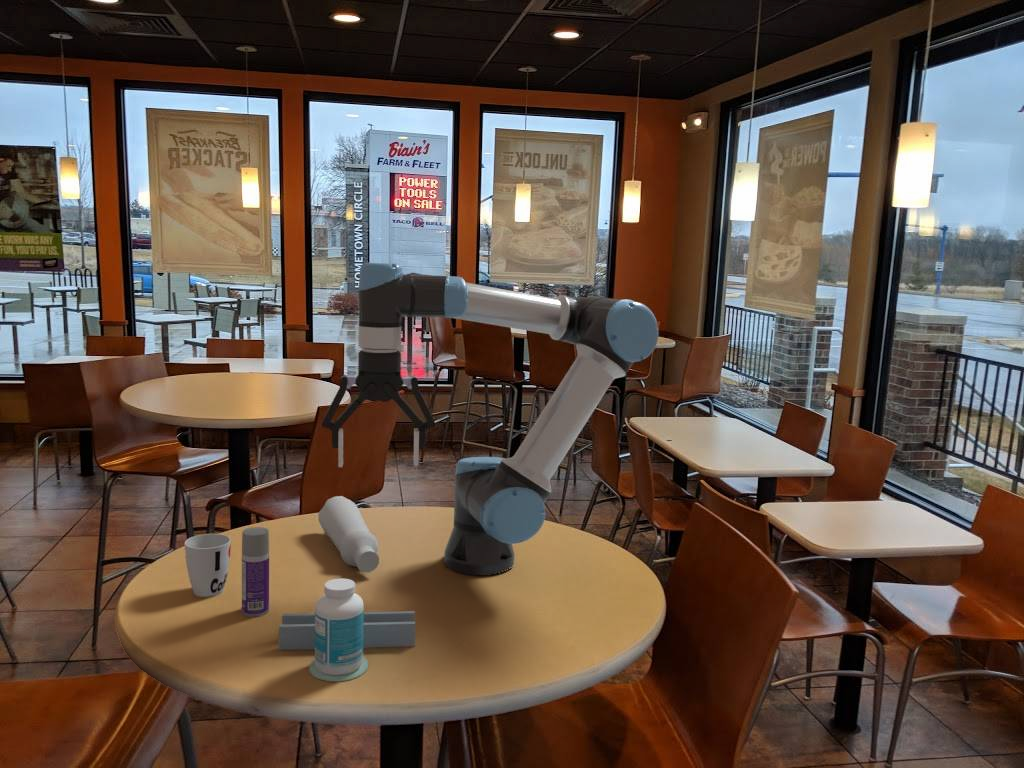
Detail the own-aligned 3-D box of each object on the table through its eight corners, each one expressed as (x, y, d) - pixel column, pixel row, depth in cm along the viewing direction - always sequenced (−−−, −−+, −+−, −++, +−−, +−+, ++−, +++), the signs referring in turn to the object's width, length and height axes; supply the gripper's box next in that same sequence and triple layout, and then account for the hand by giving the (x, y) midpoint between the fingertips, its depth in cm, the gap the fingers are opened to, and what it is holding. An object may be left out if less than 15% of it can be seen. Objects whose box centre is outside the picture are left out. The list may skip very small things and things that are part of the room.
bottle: (309, 519, 183) (336, 571, 156) (331, 486, 184) (362, 532, 157) (341, 537, 187) (373, 590, 160) (363, 505, 188) (398, 552, 161)
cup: (215, 602, 145) (215, 550, 143) (176, 597, 146) (175, 545, 145) (239, 585, 153) (239, 536, 151) (201, 580, 154) (201, 531, 153)
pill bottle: (369, 657, 127) (371, 578, 125) (351, 680, 120) (353, 596, 118) (326, 650, 129) (327, 572, 127) (305, 673, 121) (307, 590, 119)
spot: (368, 652, 129) (368, 651, 129) (367, 680, 121) (367, 679, 121) (312, 653, 128) (312, 652, 128) (306, 682, 119) (306, 681, 119)
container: (274, 608, 144) (274, 529, 142) (258, 618, 139) (258, 537, 137) (252, 603, 145) (252, 525, 143) (236, 613, 141) (235, 533, 139)
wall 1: (414, 643, 133) (415, 621, 132) (414, 646, 132) (415, 623, 132) (279, 647, 129) (279, 624, 129) (278, 650, 129) (278, 626, 128)
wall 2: (413, 632, 137) (414, 611, 136) (413, 635, 136) (414, 613, 135) (282, 636, 133) (282, 613, 133) (281, 638, 133) (282, 615, 132)
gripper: (447, 348, 148) (444, 459, 151) (309, 346, 143) (310, 460, 146) (451, 353, 140) (448, 469, 144) (306, 351, 136) (307, 471, 139)
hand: (378, 465), depth 145 cm, fingers open, 13 cm apart
